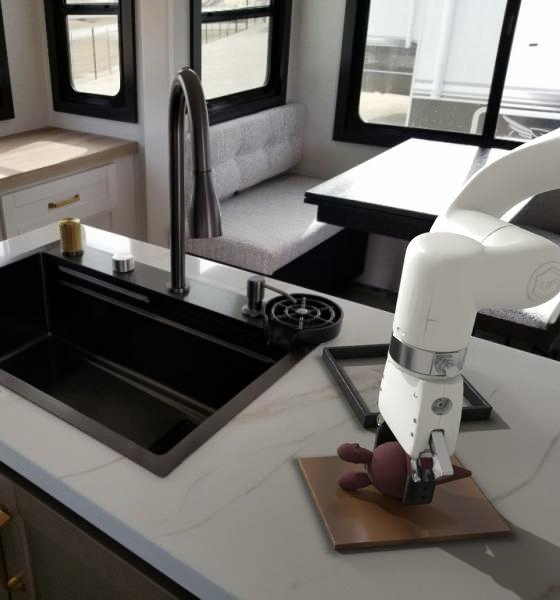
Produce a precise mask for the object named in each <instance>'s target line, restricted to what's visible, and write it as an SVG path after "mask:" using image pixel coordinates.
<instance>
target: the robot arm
mask: <svg viewBox="0 0 560 600" xmlns="http://www.w3.org/2000/svg"><path fill="white" fill-rule="evenodd" d="M559 189H560V127H558V128H556V129H554V130H552V131H550V132H548V133H545V134H543V135H540V136H538V137H535V138H533V139H531V140H529V141H526V142H525V143H523V144H520V145H519V146H517V147H515V148H513V149H512V150H509V151H508V152H505V153H504V154H502V155H500V156H498V157H497V158H495V159H493V160H491V161H489V162H488V163H487V164H485V165H483V166H482V167H481V168H479V169H478V170H477V171H476V172H474V174H472V175H471V176H470V178H468V180H466V181H465V182H464V184H463V185H462V186H461V188H460V189H459V190H457V192H456V193H455V195H454V196H453V197H452V198H451V199H450V200H449V201H448V203H447V204H446V205H445V206H444V208H443V209H442V211H441V212H440V214H439V215H438V216H437V217H436V219H435V220H434V222H433V224H432V226H431V228H430V230H429V232H424V233H421V234H419V235H417V236H415V237H414V238H413V239H412V240H411V241H410V242H409V243H408V245H407V248H406V250H405V255H404V260H403V266H402V272H401V278H400V283H399V289H398V293H397V294H398V295H397V300H396V306H395V311H394V316H393V317H394V318H393V323H392V329H391V333H390V340H389V343H390V345H389V351H388V356H387V357H386V358H387V359H386V362H385V365H384V370H383V374H382V376H381V377H382V378H381V380H378V381H377V390H378V399H377V402H376V403H377V406H378V410H379V411H378V412H380V414H379V415H378V416H377V423H378V425H379V426H381V427H376V433H375V439H374V444H373V450H375V449H376V448H377V447H378V446H380V445H382V444H384V443H387V442H397V441H398V442H399V443H400V444H401V446H402V447H403V449H404V450H405V451H406V452H407V454H409V455H410V460H411V471H412V475H408V476H407V481H406V485H405V490H404V495H403V499H402V501H403V503H404V504H405V505H406V506H408V505H421V504H430V503H431V502H432V499H433V495H434V491H435V487H436V483H437V481H440V480H445V479H446V478H449V477H451V476H453V468H452V464H451V461H450V456H452V455H453V454H454V453H455V451H456V450H455V449H456V446H457V442H458V437H459V432H460V431H459V430H460V425H461V422H460V420H461V412H462V407H463V403H464V395H463V377H462V376H461V374H463V370H464V367H465V362H466V358H467V354H468V351H469V346H470V342H471V338H472V334H473V329H474V326H475V322H476V317H477V313H478V312H479V311H481V310H526V309H532V308H536V307H538V306H542V305H544V304H546V303H548V302H550V301H552V300H553V299H554V298H556V297H557V296H558V295H559V294H560V246H559V245H557V243H555V242H553V241H552V240H550V239H548V238H546V237H544V236H542V235H539V234H537V233H534V232H531V231H529V230H527V229H524V228H521V227H520V226H518V225H515V224H513V223H511V222H508V221H506V220H503V219H502V218H503V217H504V216H505V215H506V214H507V213H508V212H509V211H510V210H512V209H513V208H514V207H515V206H517V205H519V204H520V203H522V202H524V201H526V200H528V199H530V198H532V197H534V196H537V195H540V194H543V193H545V192H550V191H553V190H559ZM427 447H429V449H430V450H425V449H427ZM373 450H372V451H373ZM420 458H430V464H431V469H427V470H421V465H420Z"/></svg>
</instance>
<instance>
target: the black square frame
mask: <svg viewBox="0 0 560 600" xmlns="http://www.w3.org/2000/svg"><path fill="white" fill-rule="evenodd" d="M389 345H390V342H389V343H388V342H387V343H373V344H354V345H338V346H337V345H336V346H324V347H323V348H322V356H321V360H322V361H323V363H324V364H325V366H326V367H327V370H328V371H329V373H330V374H331V376H332V378H333V380H334V381H335V383H336V385H337V386H338V388H339V390H340V392H341V393H342V395H343V396H344V398H345V400H346V402H347V403H348V405H349V407H350V408H351V410H352V411H353V414H354V415H355V417H356V418H357V421H358V422H359V424H360V425H361V427H362V428H363V429H374V428H375V429H377V427H381V426H379V425H378V423H377V416H378V415H379V414H380V411H378V412H377V411H375V412H368V411H367V409H366V407H365V406H364V404H363V403H362V401H361V399H360V398H359V397H358V394H357V393H356V391H355V390H354V388H353V386H352V385H351V384H350V382H349V380H348V379H347V377H346V376H345V374H344V372H343V370H342V369H341V367H340V366H339V364H338V363H337V361H336V360H350V359H351V360H353V359H369V358H384V357H386V358H388V351H389ZM461 376H462V377H463V397H464V398H465V399H466V400H467V401H468V403H470V405H467V406H462V412H461V420H460V423H462V422H463V423H464V422H477V421H478V422H479V421H489V420H490V418H491V415H492V412H493V406H492V405H491V404H490V403H489V402H488V401H487V399H486V398H485V397H484V396H483V395H482V394H481V393H480V392H479V390H478V389H477V388H475V386H473V384H472V383H471V382H470V381H469V380H468V379H467V378H466V376H464V375H463V373H461Z"/></svg>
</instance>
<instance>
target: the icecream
mask: <svg viewBox="0 0 560 600" xmlns="http://www.w3.org/2000/svg"><path fill="white" fill-rule="evenodd" d="M336 455H337V456H339V457H340V459H342V460H344V461H346V462H349V463H354V464H358V463H359V464H363V467H364V468H365V469H366V470H367V473H366V472H358V471H351V472H347V473H343V474H341V475H340V476H339V477H338V479H337V483H338V485H339V486H340V487H341V488H343V489H349V490H356V489H361V488H365V487H367V486H369V485H373V486H374V487H375V488H376V489H377V490H378V491H379V492H381V493H383V494H385V495H387V496H390V497H396V498H402V497H403V495H404V490H405V485H406V481H407V476H408V475H412V471H411V460H410V455H409V454H407V452H406V451H405V450H404V449H403V447H402V446H401V444H400V443H399V442H398V441H397V442H387V443H384V444H382V445H380V446H378V447H377V448H376V449H375V450H372V451H371V450H369V449H367V448H366V447H361V446H360V444H359V443H358V442H354V443H349V442H346V443H345V442H344V443H342V444H340V445H339V446H338V447H337V448H336ZM451 464H452V463H451ZM420 465H421V470H427V469H431V464H430V458H420ZM452 468H453V476H451V477H449V478H446V479H445V480H440V481H437V483H436V486H437V485H440V484H444V483H447V482H451V481H455V480H459V479H463V478H466V477H472V475H473V474H472V471H471V470H469V469H467V468H465V467H463V468H462V467H459V466H457V465H454V464H452Z"/></svg>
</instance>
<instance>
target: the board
mask: <svg viewBox="0 0 560 600" xmlns="http://www.w3.org/2000/svg"><path fill="white" fill-rule="evenodd" d="M424 450H430V448H428V449H427V448H425V449H424ZM450 461H451V463H452V464H454V465H457V466H459V467H462V468H464V466H463V465H462V464H461V462H460V461H459V460H458V458H457V457H456V455H455V454H454V453H453V455H452V456H450ZM297 462H298V465H299V468H300V471H301V472H302V476H303V477H304V480H305V483H306V485H307V488H308V490H309V492H310V494H311V495H310V496H311V497H312V500H313V502H314V504H315V506H316V509H317V511H318V513H319V516H320V518H321V521H322V523H323V525H324V528H325V531H326V533H327V535H328V538H329V540H330V542H331V545H332V547H333V550H334V551H335V550H346V549H359V548H370V547H372V548H373V547H383V546H395V545H409V544H421V543H433V542H444V541H459V540H470V539H481V538H493V537H504V536H505V537H507V536H510V533H511V529H510V527H509V526H508V525H507V523H506V522H505V521H504V520H503V518H502V517H501V516H500V514H499V513H498V512H497V510H496V509H495V508H494V506H493V505H492V503H491V502H490V501H489V500H488V498H487V497H486V495H485V494H484V493H483V492H482V490H481V489H480V488H479V486H478V485H477V483H476V482H475V481H474V479H473V478H472V476H470V477H466V478H463V479H459V480H455V481H451V482H447V483H444V484H440V485H437V486H436V487H435V491H434V495H433V499H432V502H431V503H430V504H421V505H408V506H406V505H405V504H404V503H403V501H402V499H403V497H402V498H396V497H390V496H387V495H385V494H383V493H381V492H379V491H378V490H377V489H376V488H375V487H374V486H373V485H369V486H367V487H365V488H361V489H356V490H349V489H343V488H341V487H340V486H339V485H338V483H337V479H338V477H339V476H340V475H341V474H343V473H347V472H351V471H358V472H366V473H367V470H366V469H365V468H364V467H363V464H359V463H358V464H354V463H349V462H346V461H344V460H342V459H340V457H339V456H338V455H329V456H328V455H327V456H313V457H299V458H298V461H297Z"/></svg>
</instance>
